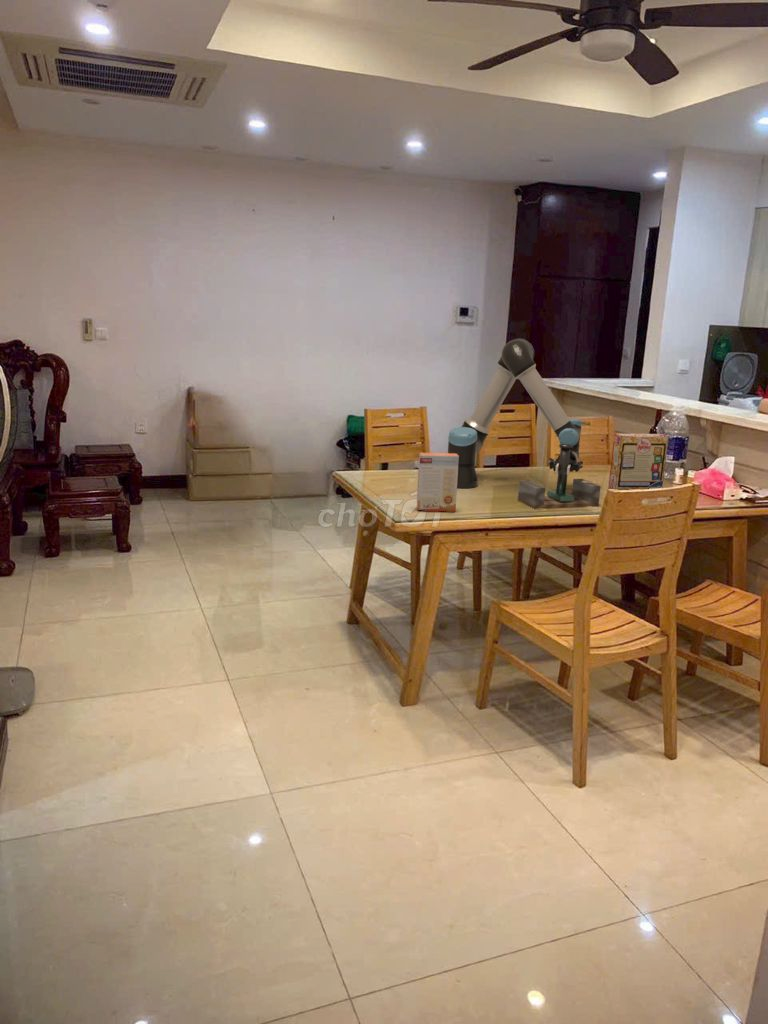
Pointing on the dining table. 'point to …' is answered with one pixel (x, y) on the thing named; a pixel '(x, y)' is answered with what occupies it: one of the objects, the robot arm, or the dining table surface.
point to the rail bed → (536, 498)
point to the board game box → (638, 461)
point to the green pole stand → (562, 476)
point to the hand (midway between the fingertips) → (562, 470)
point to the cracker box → (437, 481)
